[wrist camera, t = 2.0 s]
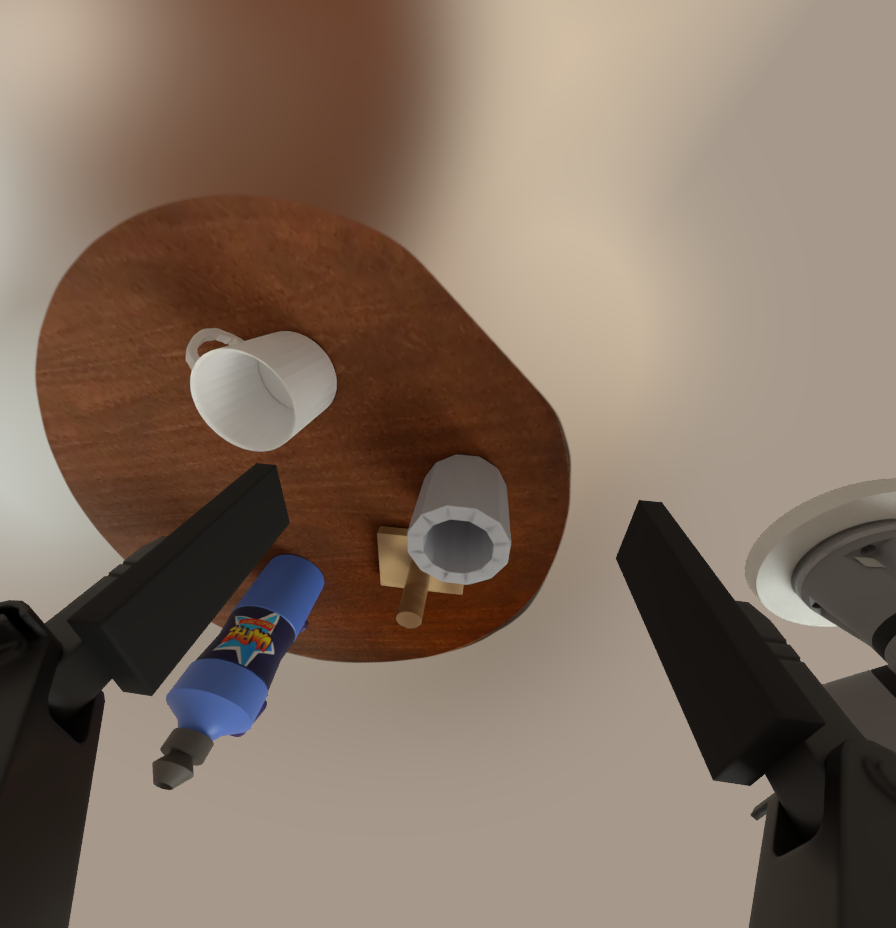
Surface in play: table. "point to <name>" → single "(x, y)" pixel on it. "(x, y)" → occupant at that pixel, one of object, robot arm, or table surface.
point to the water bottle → (237, 666)
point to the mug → (260, 386)
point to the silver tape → (461, 521)
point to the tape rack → (407, 576)
